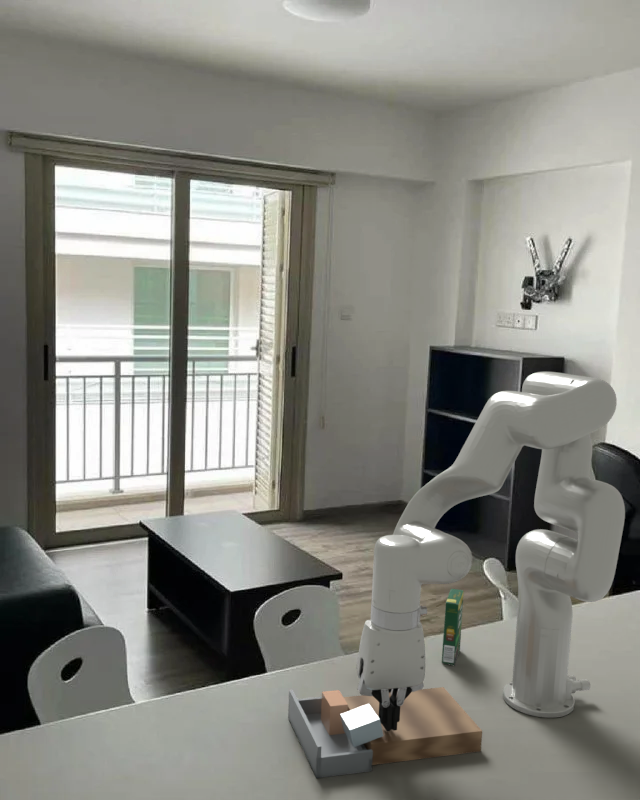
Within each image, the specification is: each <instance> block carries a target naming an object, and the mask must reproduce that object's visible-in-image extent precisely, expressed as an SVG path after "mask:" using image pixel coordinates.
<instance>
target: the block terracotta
mask: <svg viewBox="0 0 640 800" xmlns="http://www.w3.org/2000/svg"><path fill="white" fill-rule="evenodd" d="M321 697H322V705H321V721H322V723H323V725H324V726H325V728H326V730H327V732H328V734H329V735H335V734H344V733H345V732H344V730H343V725H342V721H341V716H340V714H342V713H344V712H347V711H348V704H347V702H346V700H345V699H344V697H345V696H343V693H342V692H341V691H340V690H339V689H335V690H326V691H325V690H324V691H322V692H321Z"/></svg>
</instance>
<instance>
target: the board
mask: <svg viewBox="0 0 640 800" xmlns="http://www.w3.org/2000/svg"><path fill="white" fill-rule="evenodd" d="M390 696H391V692H390V693H389V698H390ZM343 697H344V699H345V700H346V702H347V704H348V711H350V710H352V709H355V708H358V707H361V706H363V705H366V704H370V706H371V707H372V708H373V710H374V711H375V713H376V714H377V716H378V717H379V702H378V701H377V700H376V699H375V698H374V697H373V696H364V695H361V694H360V695H352V696H343ZM381 726H382V731H383V736H382V737H380V738H377V739H375V740H372V741H369V742H367V743H364V746H365V747H366V749H367V750H370V749H372V751H373V758H372V766H375V765H383V764H390V763H399V762H407V761H413V760H414V761H417V760H423V759H430V758H440V757H445V756H446V757H447V756H454V755H462V754H471V753H479V752H482V743H483V742H482V741H483V740H482V739H483V730H482V729H481V728H480V727H479V725H478V724H477V723H476V722H475V721H474V720H473V719H472V718H471V716H470V715H469V714H468V713H467V712H466V711H465V709H464V708H463V707H462V705H460V704H459V703H458V702H457V701H456V699H455V698H454V697H453V696H452V695H451V693H449V691H448V690H447V689H446V688H445V687H443V686H442V687H434V688H433V687H431V688H430V687H429V688H422V689H421V690H418V691H415V692H411V693H410V694H409V696H408V697H407V698H406V699H405V700H404V703H403V705H402V706H400V721H399V722H397V730H394V731H393V730H392V729H391V730H390V731H386V729H385V728H384V726H383V725H382V724H381Z"/></svg>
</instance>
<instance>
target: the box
mask: <svg viewBox="0 0 640 800" xmlns="http://www.w3.org/2000/svg"><path fill="white" fill-rule="evenodd" d="M321 705H322V696H314V697H305V698H304V697H303V698H298V697H297V696H296V694H295V692H294V689H289V691H288V709H287V711H288V713H287V715H288V716H287V718H288V721H289V722H290V724H291V727H292V729H293V730H294V734H295V736H296V738H297V740H298V742H299V744H300V746H301V748H302V750H303V752H304V755H305V757H306V759H307V761H308V763H309V766H310V768H311V770H312V772H313V774H314V776H315V778H316V779H320V778H329V777H336V776H342V775H345V776H346V775H350V774H360V773H366V772H367V773H368V772H372V771H373V765H372V758H373V751H372V749H370V750H367V749H366V747H365V746H364V744H361V745H359V746H356V747H353V745H352V744H351V742H350V740H349V739H348V737H347V735H346V734H345V733H344V734H335V735H329V734H328V732H327V730H326V728H325V726H324V725H323V723H322V721H321Z"/></svg>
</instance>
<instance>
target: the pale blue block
mask: <svg viewBox="0 0 640 800" xmlns="http://www.w3.org/2000/svg"><path fill="white" fill-rule="evenodd" d="M340 716H341V721H342V725H343V730H344V732H345V734H346V735H347V737H348V739H349V740H350V742H351V744H352V745H353V747H356V746H359V745H361V744H364V743H367V742H369V741H372V740H375V739H377V738H380V737H382V736H383V731H382V726H381V722H380V718H379V717H378V716H377V714H376V713H375V711H374V710H373V708H372V707H371V706H370V704H366V705H363V706H361V707H358V708H355V709H352V710H350V711H347V712H344V713H342V714H340Z"/></svg>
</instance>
